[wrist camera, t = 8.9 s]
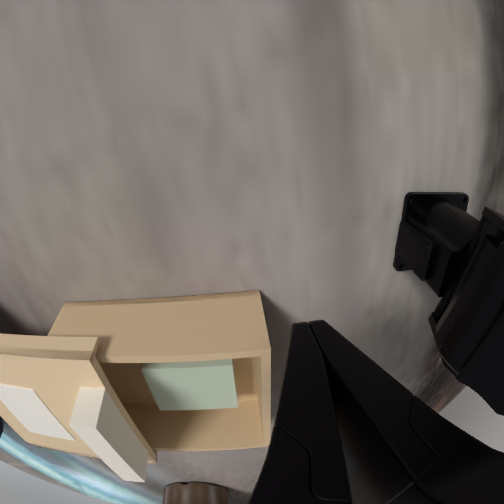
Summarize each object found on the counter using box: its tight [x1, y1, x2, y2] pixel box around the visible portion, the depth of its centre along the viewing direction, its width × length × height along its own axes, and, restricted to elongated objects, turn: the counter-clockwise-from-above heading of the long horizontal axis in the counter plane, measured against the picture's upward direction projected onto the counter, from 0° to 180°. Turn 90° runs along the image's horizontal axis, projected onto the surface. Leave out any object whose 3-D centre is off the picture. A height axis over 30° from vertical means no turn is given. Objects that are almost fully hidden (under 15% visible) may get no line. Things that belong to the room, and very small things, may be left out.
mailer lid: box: [0, 334, 158, 482], centre depth 19 cm, size 16×16×5 cm
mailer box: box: [47, 290, 271, 451], centre depth 24 cm, size 16×14×6 cm
